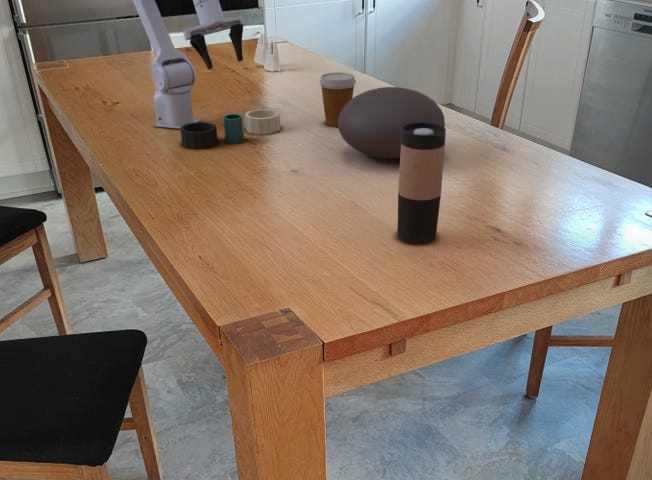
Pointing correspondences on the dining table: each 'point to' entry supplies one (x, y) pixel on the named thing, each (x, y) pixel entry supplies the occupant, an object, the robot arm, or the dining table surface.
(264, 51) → the shaker set
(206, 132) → the black ring
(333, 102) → the disposable coffee cup
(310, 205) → the dining table surface
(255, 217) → the dining table surface
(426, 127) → the travel mug
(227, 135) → the espresso cup
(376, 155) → the smooth stone
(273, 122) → the ivory ring
